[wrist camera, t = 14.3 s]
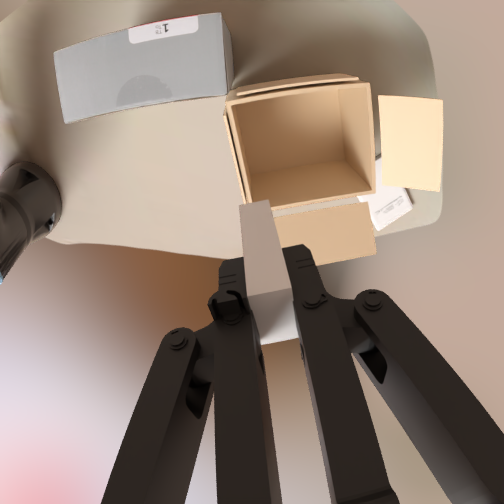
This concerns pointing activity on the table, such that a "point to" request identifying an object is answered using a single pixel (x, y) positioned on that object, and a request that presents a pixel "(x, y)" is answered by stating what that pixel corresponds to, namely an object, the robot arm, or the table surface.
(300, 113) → the carton
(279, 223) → the flap
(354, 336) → the robot arm
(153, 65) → the hard drive box
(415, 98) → the flap
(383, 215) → the external hard drive
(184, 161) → the table surface
